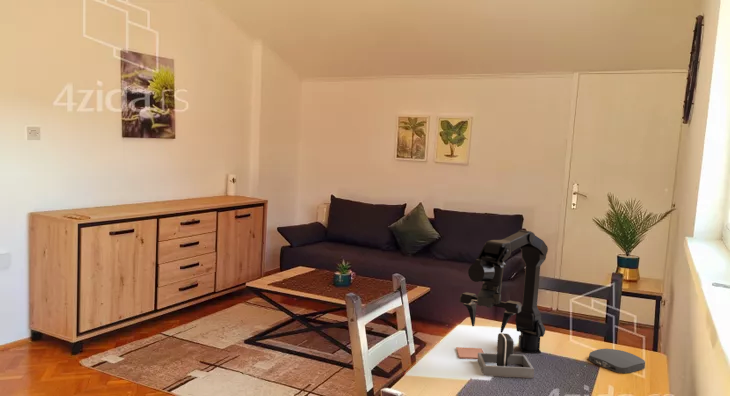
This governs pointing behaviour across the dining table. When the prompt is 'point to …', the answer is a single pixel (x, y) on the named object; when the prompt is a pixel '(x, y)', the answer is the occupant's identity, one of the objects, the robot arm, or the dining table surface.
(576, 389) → the dining table surface
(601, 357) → the media streaming box
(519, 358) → the bin
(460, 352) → the mat
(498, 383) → the dining table surface
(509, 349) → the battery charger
